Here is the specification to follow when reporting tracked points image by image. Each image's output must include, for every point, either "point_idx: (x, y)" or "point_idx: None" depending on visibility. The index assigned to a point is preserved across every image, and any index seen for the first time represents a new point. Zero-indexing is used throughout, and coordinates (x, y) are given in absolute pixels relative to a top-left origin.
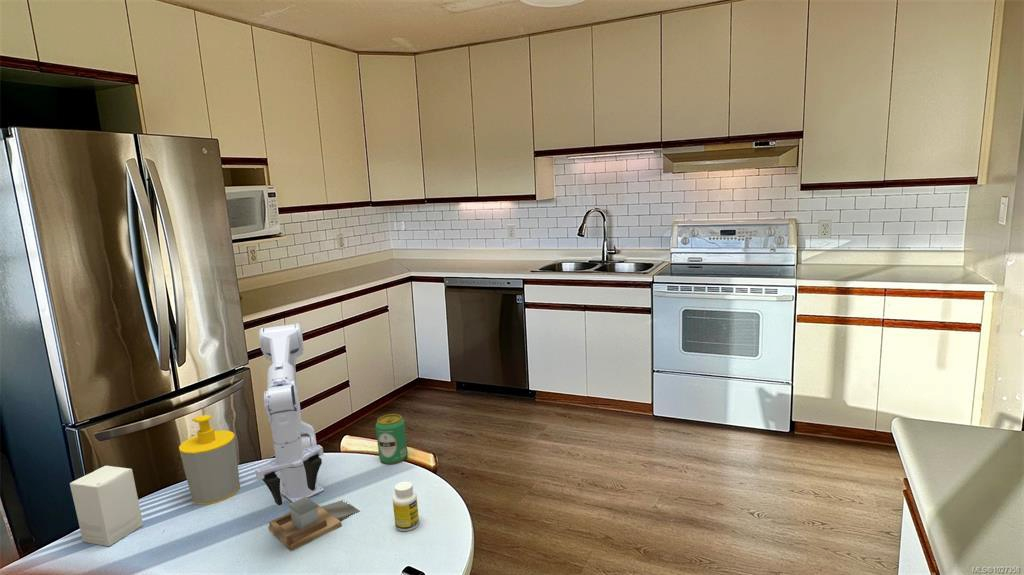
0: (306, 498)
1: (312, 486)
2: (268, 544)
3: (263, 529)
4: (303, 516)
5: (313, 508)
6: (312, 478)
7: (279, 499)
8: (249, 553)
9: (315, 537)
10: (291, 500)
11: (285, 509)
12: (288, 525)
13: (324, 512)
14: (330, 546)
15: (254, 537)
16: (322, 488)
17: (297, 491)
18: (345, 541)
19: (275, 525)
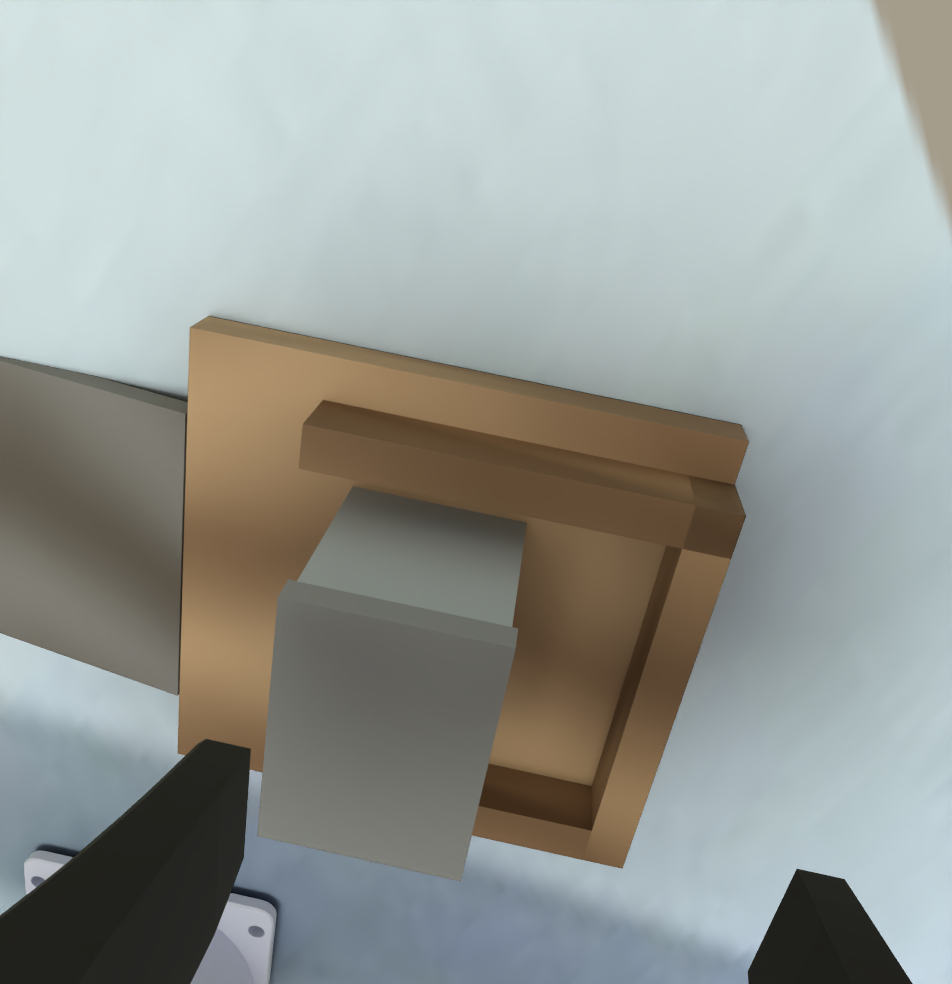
0: (277, 803)
1: (212, 798)
2: (754, 683)
3: None
4: (481, 606)
5: (342, 596)
6: (113, 934)
7: (882, 970)
8: (917, 720)
9: (490, 377)
10: (271, 946)
11: (360, 907)
12: (517, 722)
13: (207, 600)
14: (498, 110)
15: (731, 842)
16: (27, 871)
17: (197, 981)
18: (349, 24)
19: (635, 786)
